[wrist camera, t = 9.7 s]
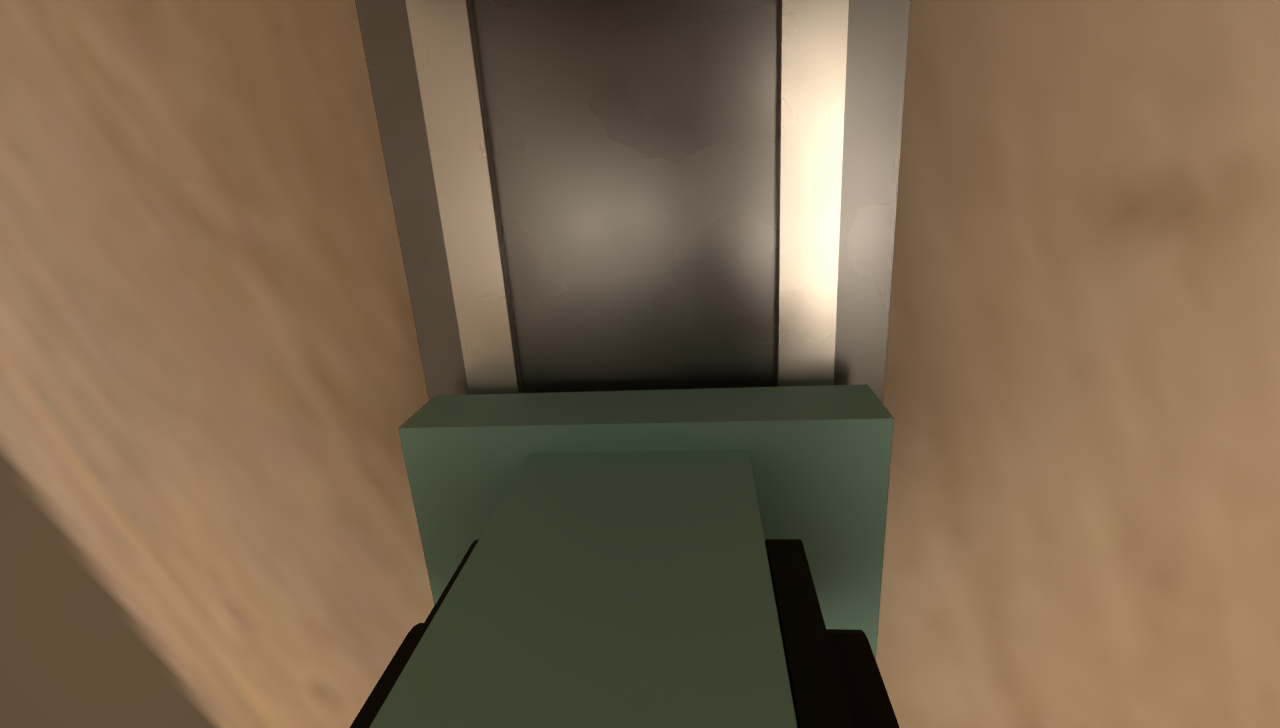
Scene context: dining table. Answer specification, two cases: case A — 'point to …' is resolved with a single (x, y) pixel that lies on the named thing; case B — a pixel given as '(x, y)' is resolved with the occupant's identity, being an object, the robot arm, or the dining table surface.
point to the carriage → (634, 551)
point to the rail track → (643, 188)
